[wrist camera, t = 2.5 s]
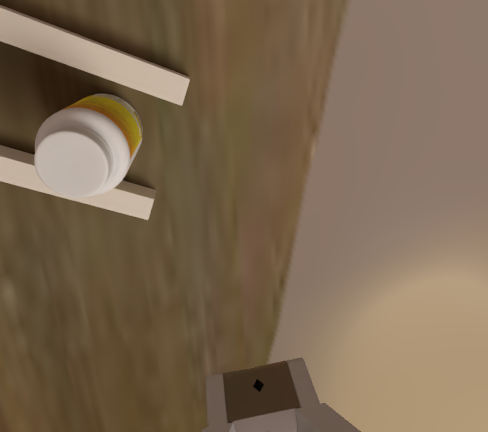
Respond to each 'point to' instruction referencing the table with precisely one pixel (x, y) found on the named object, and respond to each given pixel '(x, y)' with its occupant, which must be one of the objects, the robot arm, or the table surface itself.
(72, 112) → the supplement bottle
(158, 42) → the table surface
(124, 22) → the table surface
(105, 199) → the u rest
